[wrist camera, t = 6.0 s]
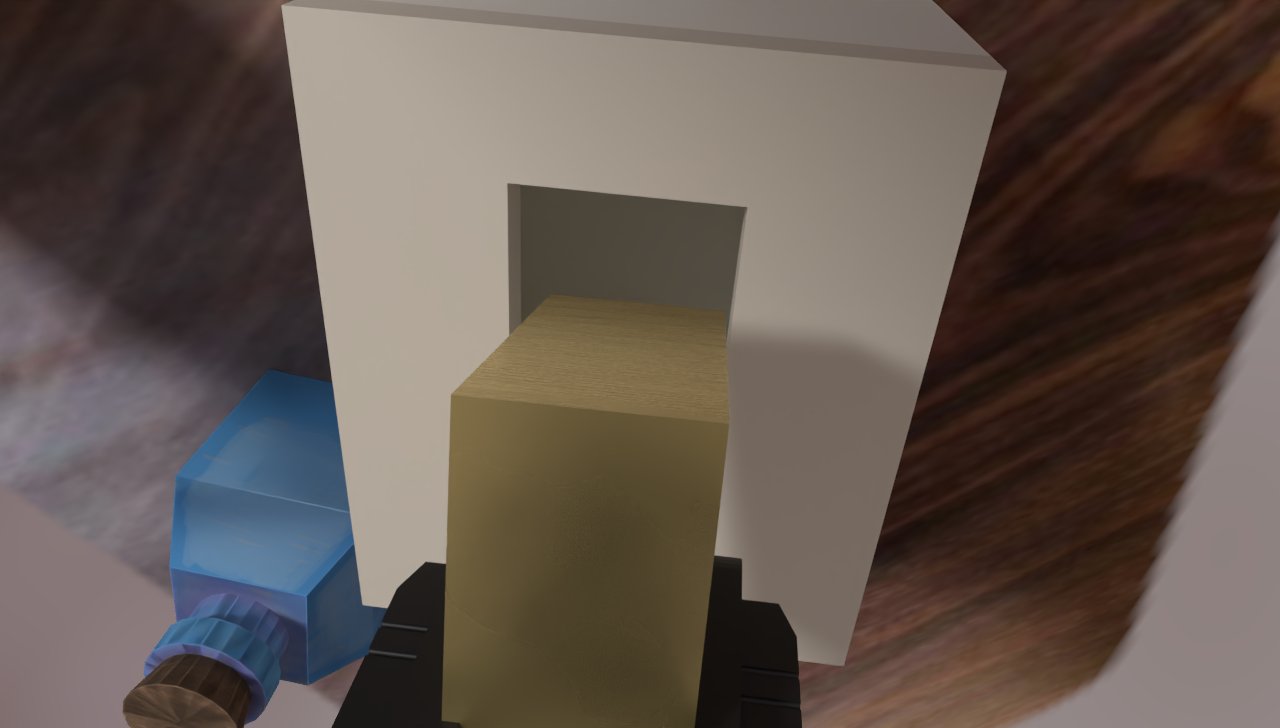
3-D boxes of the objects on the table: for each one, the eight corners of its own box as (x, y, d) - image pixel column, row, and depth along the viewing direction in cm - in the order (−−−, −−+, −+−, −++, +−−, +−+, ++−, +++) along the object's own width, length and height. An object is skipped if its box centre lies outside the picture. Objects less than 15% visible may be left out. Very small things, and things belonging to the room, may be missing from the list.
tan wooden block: (550, 293, 13) (451, 395, 8) (725, 311, 13) (729, 424, 8) (530, 659, 14) (434, 926, 10) (684, 678, 14) (667, 959, 9)
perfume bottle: (436, 405, 32) (293, 672, 22) (426, 530, 36) (297, 814, 25) (269, 368, 32) (47, 620, 22) (274, 497, 36) (83, 769, 25)
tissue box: (480, -72, 24) (281, 5, 14) (893, -37, 23) (1007, 71, 13) (490, 345, 31) (362, 605, 21) (810, 381, 30) (843, 666, 20)
